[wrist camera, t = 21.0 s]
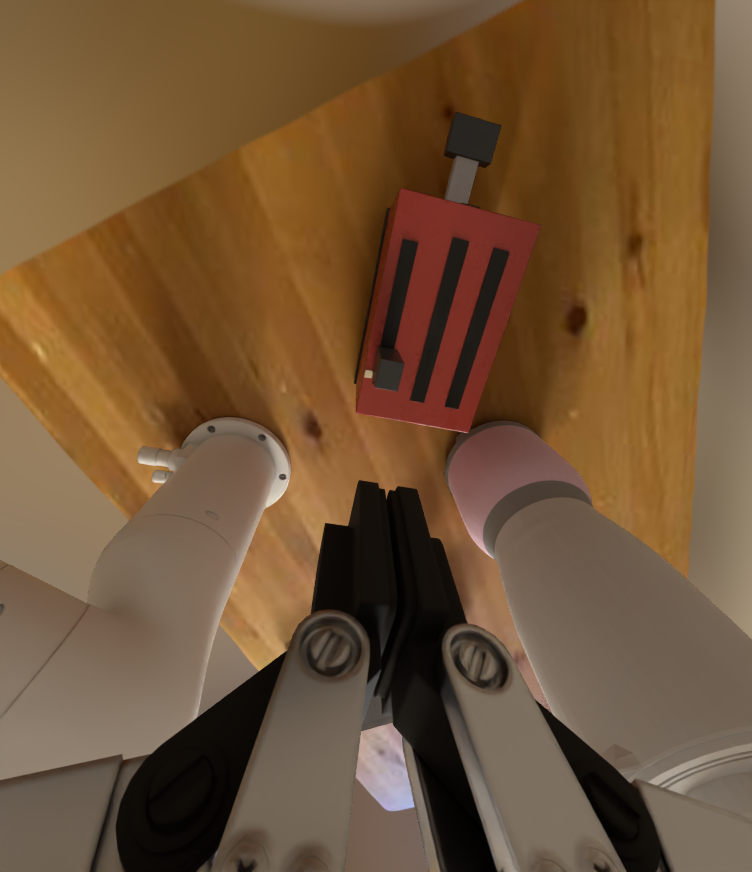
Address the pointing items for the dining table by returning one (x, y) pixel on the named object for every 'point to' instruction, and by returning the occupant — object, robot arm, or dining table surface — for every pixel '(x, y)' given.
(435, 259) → the toaster
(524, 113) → the dining table surface
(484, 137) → the bread lever
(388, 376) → the browning slider
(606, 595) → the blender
